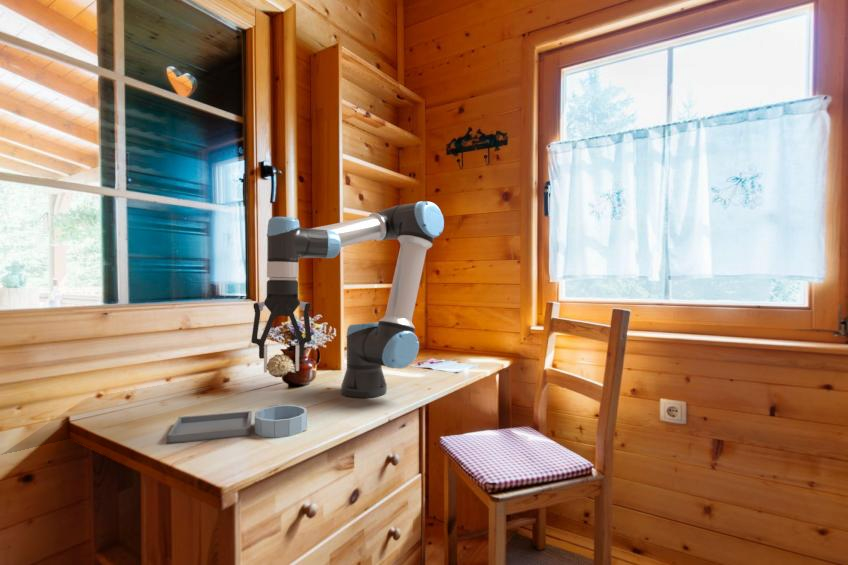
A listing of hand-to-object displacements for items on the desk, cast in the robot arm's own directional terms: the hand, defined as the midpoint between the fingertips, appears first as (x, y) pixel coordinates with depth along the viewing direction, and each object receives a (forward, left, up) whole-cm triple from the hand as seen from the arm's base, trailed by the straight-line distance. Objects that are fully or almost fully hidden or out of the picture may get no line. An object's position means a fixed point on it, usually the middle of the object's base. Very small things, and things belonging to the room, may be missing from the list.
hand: (281, 370), depth 109 cm
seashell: (0, 0, -1) cm, 2 cm away
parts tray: (+16, -4, -15) cm, 22 cm away
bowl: (0, 0, -15) cm, 15 cm away
